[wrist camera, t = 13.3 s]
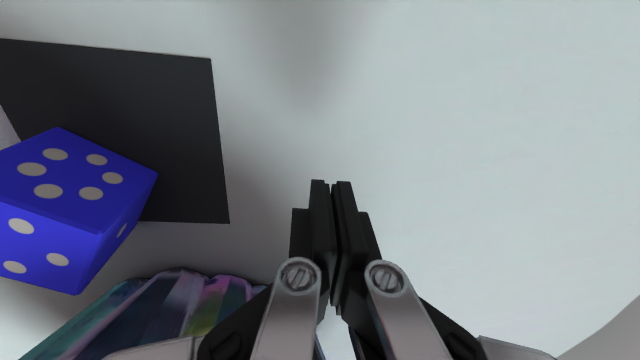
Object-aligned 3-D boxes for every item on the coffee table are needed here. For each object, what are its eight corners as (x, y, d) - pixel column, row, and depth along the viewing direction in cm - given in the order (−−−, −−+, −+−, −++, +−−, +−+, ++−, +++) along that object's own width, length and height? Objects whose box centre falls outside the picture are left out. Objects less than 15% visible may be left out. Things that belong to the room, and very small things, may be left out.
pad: (-37, 34, 11) (-39, 34, 10) (210, 59, 12) (210, 59, 12) (65, 217, 16) (64, 218, 16) (229, 223, 17) (229, 224, 17)
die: (135, 227, 16) (77, 298, 12) (43, 192, 15) (-62, 261, 10) (160, 171, 14) (101, 234, 10) (57, 124, 13) (-66, 175, 8)
